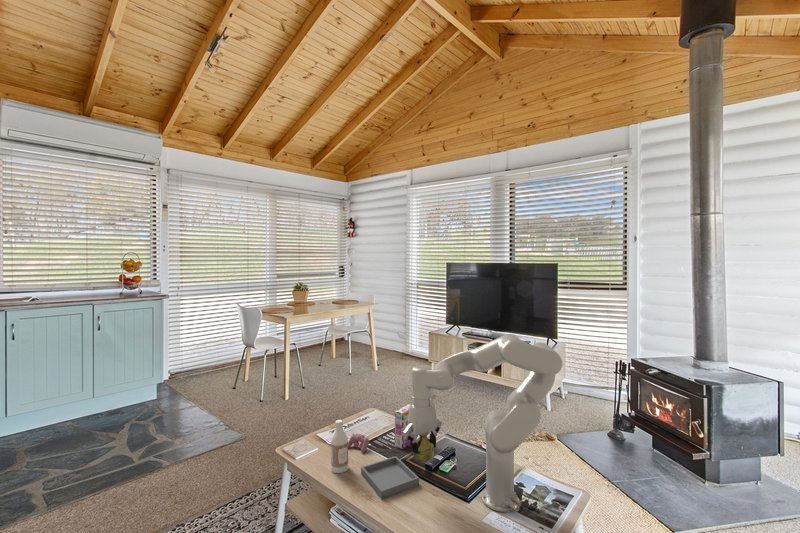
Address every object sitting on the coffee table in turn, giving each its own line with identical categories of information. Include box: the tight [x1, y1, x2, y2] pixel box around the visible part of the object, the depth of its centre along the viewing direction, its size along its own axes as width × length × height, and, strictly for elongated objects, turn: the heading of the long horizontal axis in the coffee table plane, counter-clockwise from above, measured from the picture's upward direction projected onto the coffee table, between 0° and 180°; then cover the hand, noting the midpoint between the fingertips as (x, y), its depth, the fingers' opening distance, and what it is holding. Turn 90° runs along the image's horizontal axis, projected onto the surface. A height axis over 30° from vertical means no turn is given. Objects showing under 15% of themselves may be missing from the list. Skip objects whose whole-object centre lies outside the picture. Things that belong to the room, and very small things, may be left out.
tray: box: [360, 455, 420, 500], centre depth 146 cm, size 18×16×3 cm
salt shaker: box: [413, 432, 435, 461], centre depth 135 cm, size 7×7×10 cm
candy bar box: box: [394, 404, 414, 450], centre depth 174 cm, size 11×5×16 cm, turn 144°
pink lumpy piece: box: [348, 433, 370, 454], centre depth 170 cm, size 10×5×7 cm, turn 58°
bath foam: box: [330, 419, 349, 474], centre depth 153 cm, size 7×7×20 cm
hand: (423, 448), depth 135 cm, fingers closed on salt shaker, 7 cm apart
